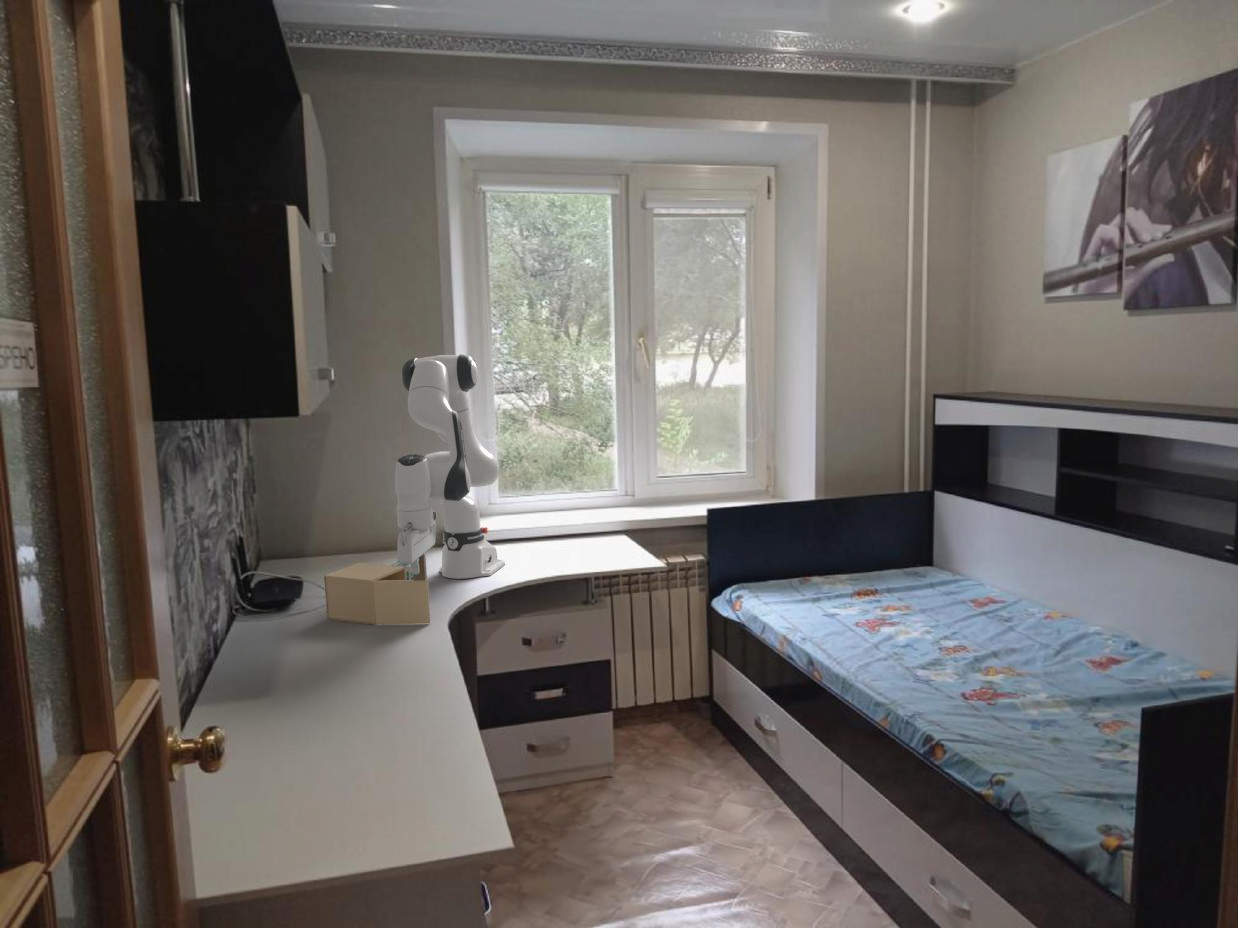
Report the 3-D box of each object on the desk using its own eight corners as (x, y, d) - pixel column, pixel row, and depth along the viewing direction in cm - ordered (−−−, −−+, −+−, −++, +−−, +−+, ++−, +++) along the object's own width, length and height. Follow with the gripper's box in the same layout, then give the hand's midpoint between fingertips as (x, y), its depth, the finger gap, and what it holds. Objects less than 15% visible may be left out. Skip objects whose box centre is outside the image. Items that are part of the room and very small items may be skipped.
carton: (362, 603, 240) (359, 562, 239) (408, 609, 234) (406, 567, 232) (327, 618, 228) (324, 575, 226) (375, 625, 221) (372, 580, 220)
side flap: (430, 622, 222) (426, 556, 219) (429, 623, 220) (425, 557, 218) (377, 623, 222) (372, 557, 219) (375, 624, 221) (371, 558, 218)
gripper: (414, 528, 206) (417, 583, 208) (438, 510, 226) (441, 561, 228) (389, 528, 207) (392, 583, 209) (415, 510, 227) (419, 561, 229)
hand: (418, 571), depth 219 cm, fingers open, 2 cm apart
